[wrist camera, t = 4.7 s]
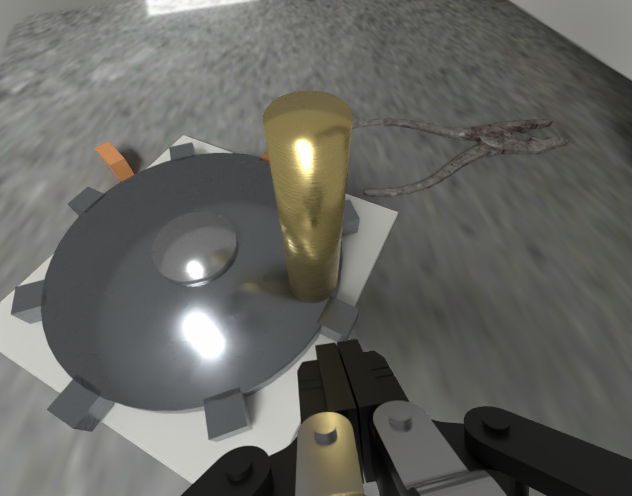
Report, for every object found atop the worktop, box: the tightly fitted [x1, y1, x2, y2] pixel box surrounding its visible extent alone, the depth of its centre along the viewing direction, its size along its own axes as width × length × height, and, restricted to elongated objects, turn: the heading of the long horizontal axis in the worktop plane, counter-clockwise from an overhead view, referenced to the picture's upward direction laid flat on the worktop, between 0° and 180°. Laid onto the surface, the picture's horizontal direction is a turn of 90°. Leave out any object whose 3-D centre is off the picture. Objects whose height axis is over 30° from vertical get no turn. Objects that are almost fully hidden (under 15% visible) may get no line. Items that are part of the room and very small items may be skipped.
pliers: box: [352, 118, 570, 196], centre depth 30 cm, size 10×1×20 cm
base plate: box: [0, 135, 398, 484], centre depth 23 cm, size 20×24×2 cm
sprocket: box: [11, 91, 360, 442], centre depth 17 cm, size 21×21×12 cm
